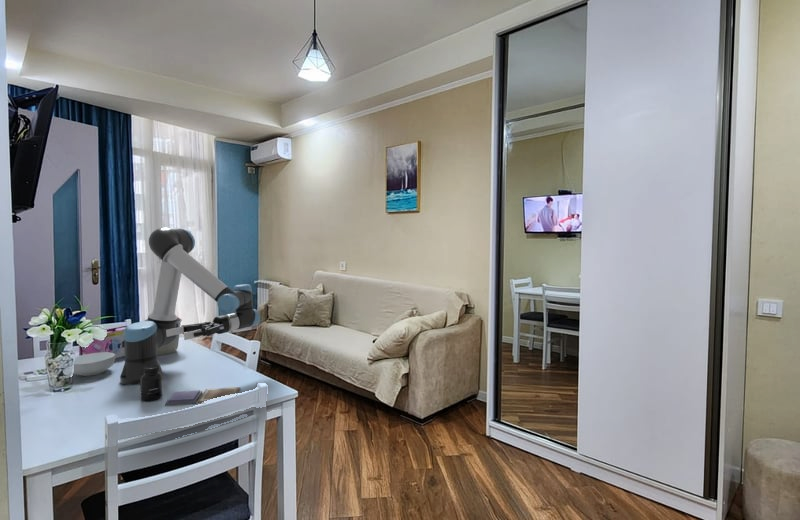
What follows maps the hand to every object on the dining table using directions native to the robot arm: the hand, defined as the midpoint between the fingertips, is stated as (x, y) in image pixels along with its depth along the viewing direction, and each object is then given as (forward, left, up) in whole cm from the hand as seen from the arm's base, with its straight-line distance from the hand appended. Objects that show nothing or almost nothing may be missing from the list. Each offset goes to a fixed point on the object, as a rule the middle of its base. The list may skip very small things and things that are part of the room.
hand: (175, 334), depth 161 cm
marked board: (+18, -9, -22) cm, 30 cm away
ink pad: (+6, -10, -22) cm, 25 cm away
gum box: (-46, +53, -22) cm, 74 cm away
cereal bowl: (-42, +29, -22) cm, 56 cm away
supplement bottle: (-6, -7, -22) cm, 24 cm away
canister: (-23, +58, -22) cm, 66 cm away
